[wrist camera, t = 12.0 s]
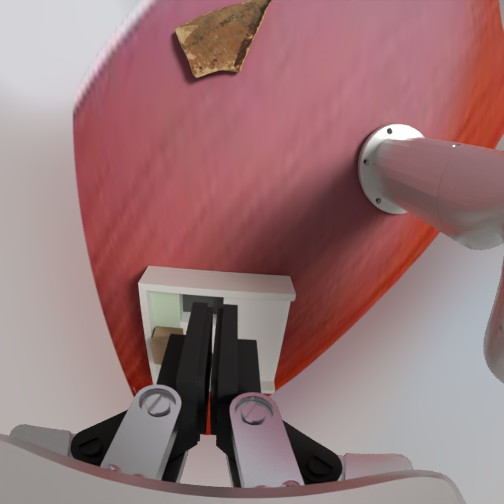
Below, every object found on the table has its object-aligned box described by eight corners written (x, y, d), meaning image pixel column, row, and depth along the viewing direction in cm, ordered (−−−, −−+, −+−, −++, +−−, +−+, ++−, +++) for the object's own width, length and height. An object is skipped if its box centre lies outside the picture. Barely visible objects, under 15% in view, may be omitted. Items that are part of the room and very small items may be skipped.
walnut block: (183, 328, 40) (178, 346, 36) (184, 348, 42) (181, 366, 38) (156, 326, 40) (150, 343, 36) (159, 346, 41) (154, 363, 38)
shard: (272, -1, 26) (274, -8, 24) (300, 55, 30) (303, 51, 28) (175, 31, 27) (171, 25, 25) (200, 89, 31) (197, 86, 29)
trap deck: (289, 276, 41) (296, 294, 36) (271, 372, 48) (274, 393, 44) (148, 265, 39) (138, 282, 35) (159, 364, 47) (153, 384, 42)
